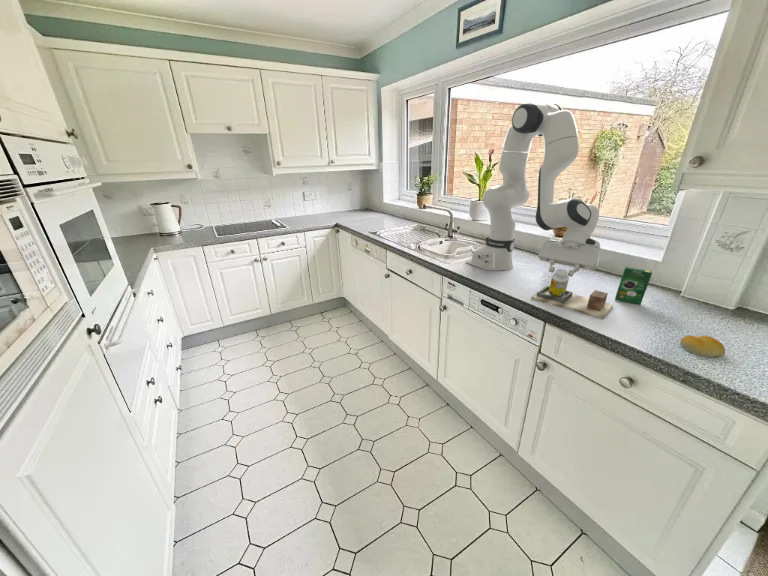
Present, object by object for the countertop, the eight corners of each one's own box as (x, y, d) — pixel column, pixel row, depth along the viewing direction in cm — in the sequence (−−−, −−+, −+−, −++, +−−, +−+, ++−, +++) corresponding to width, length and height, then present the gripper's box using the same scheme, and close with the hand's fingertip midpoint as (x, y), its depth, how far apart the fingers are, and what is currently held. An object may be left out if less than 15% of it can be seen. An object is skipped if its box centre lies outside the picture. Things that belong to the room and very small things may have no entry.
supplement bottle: (548, 288, 126) (553, 266, 120) (564, 290, 123) (570, 268, 117) (547, 296, 122) (553, 274, 116) (564, 299, 119) (570, 277, 113)
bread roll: (672, 342, 94) (676, 330, 92) (705, 343, 93) (710, 331, 92) (694, 358, 86) (699, 345, 85) (730, 360, 85) (736, 347, 84)
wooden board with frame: (531, 298, 123) (533, 284, 120) (544, 289, 131) (546, 275, 129) (602, 319, 107) (607, 303, 104) (612, 306, 115) (617, 291, 113)
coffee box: (641, 303, 117) (652, 269, 112) (641, 306, 115) (652, 272, 110) (615, 298, 122) (624, 265, 117) (614, 300, 120) (624, 268, 115)
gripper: (544, 234, 127) (530, 263, 124) (604, 242, 113) (590, 275, 110) (547, 243, 131) (533, 271, 129) (604, 252, 117) (591, 284, 115)
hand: (560, 273), depth 119 cm, fingers open, 5 cm apart
